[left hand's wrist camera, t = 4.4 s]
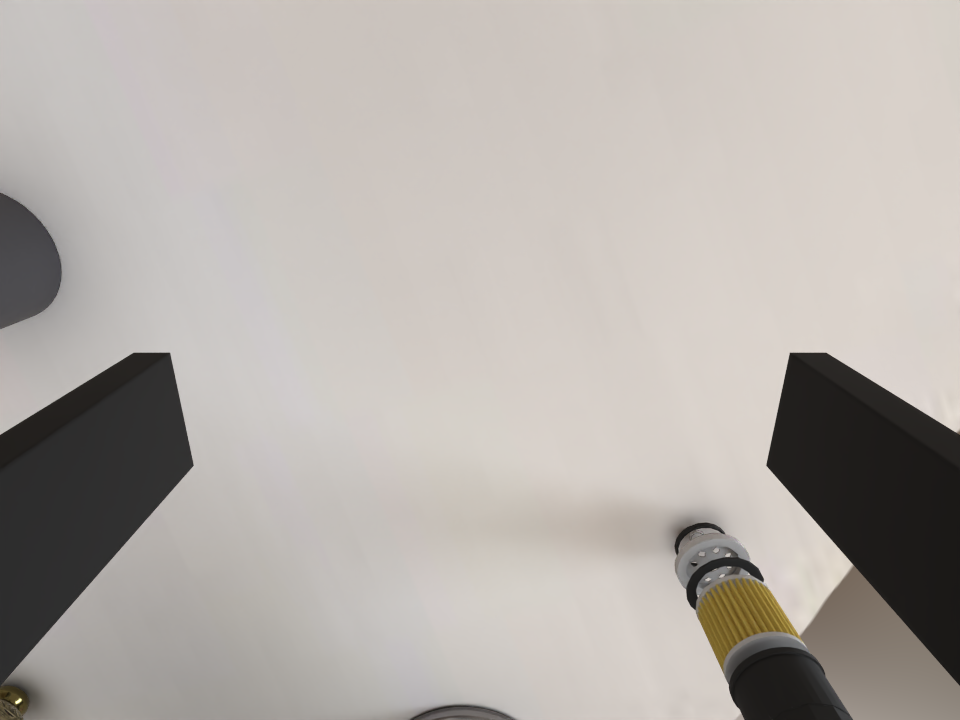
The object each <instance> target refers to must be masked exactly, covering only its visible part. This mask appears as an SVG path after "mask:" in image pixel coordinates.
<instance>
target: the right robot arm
mask: <svg viewBox="0 0 960 720" xmlns="http://www.w3.org/2000/svg"><path fill="white" fill-rule="evenodd" d="M413 720H513V719H511V718H509V717H507V716H505V715H503V714H500V713H498V712H495V711H491V710H487V709H482V708H475V707H450V708H444V709H439V710H435V711H431V712H428V713H426V714H423V715H421V716H419V717H417V718H415V719H413Z"/></svg>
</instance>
